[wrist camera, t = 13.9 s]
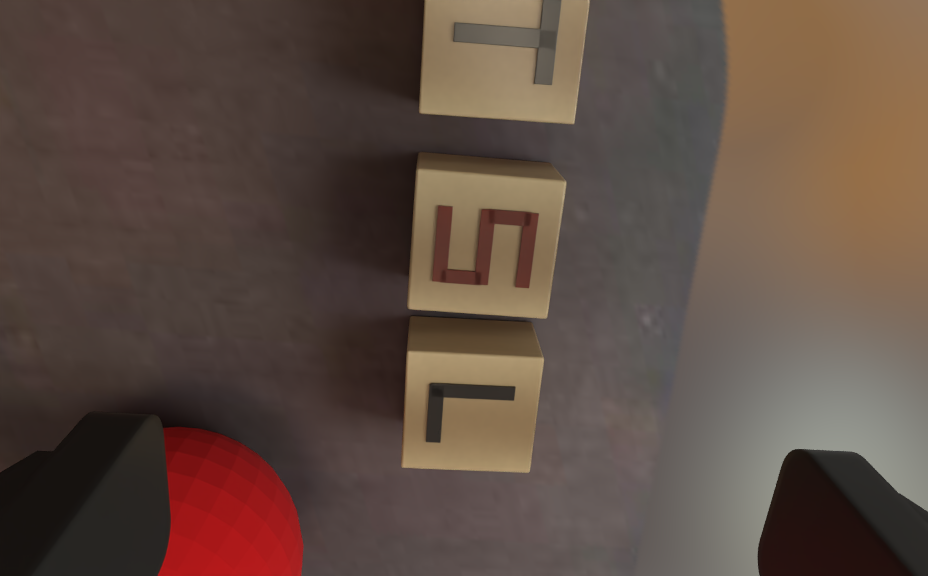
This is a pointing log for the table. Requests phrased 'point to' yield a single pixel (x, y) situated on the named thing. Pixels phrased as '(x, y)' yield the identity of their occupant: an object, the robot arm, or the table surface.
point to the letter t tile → (503, 58)
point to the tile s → (484, 235)
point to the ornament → (227, 510)
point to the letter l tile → (470, 394)
